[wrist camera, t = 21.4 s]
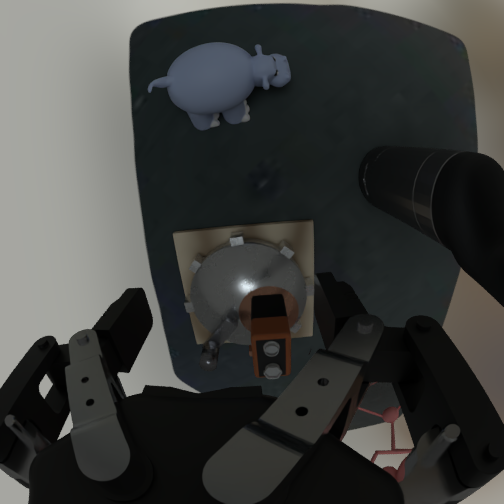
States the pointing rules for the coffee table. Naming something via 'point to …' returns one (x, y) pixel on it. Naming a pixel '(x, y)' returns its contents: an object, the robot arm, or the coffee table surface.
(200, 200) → the coffee table surface
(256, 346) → the battery
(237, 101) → the hippopotamus toy
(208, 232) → the sprocket base
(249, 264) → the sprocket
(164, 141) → the coffee table surface
